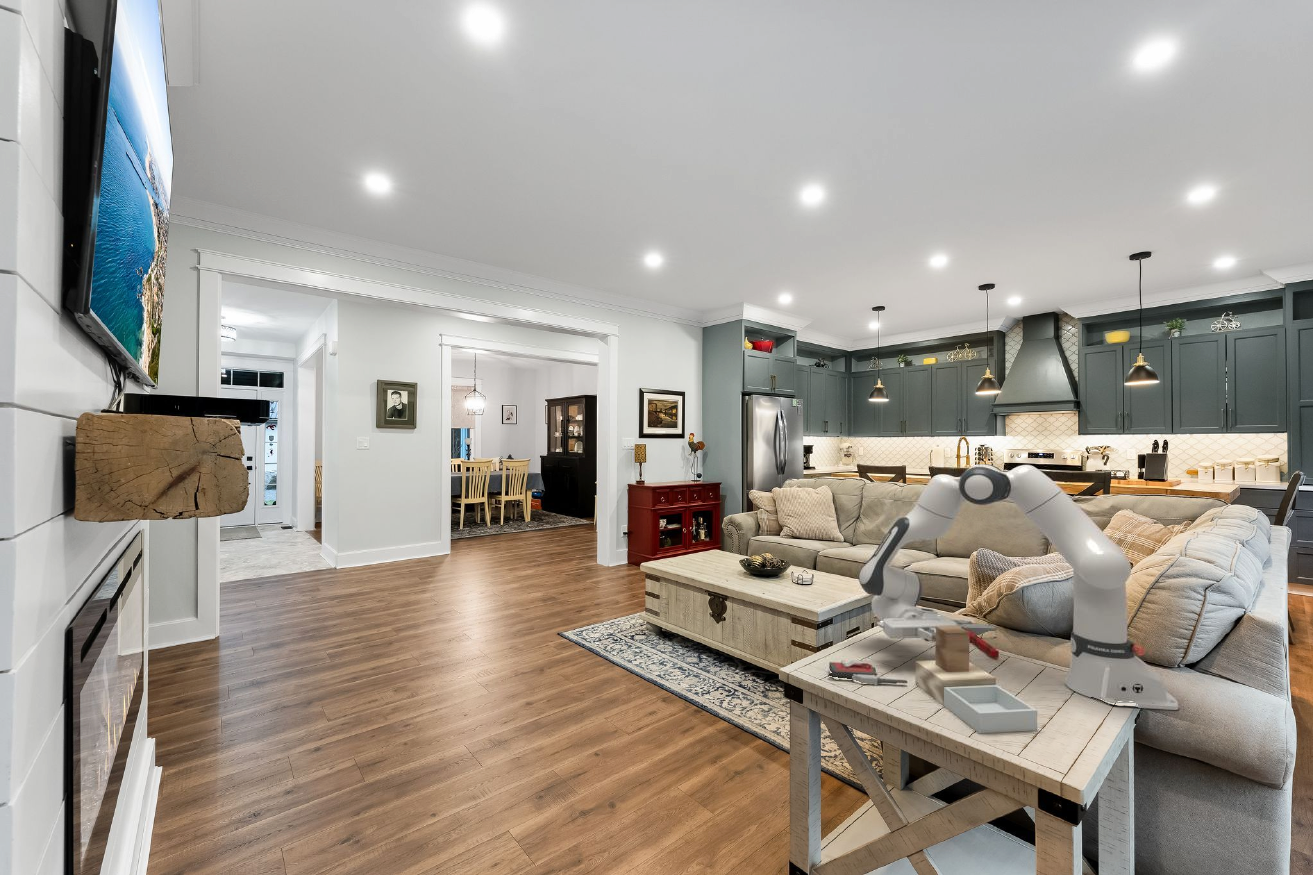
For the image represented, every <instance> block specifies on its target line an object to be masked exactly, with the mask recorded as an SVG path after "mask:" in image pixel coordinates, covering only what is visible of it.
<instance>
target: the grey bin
mask: <svg viewBox="0 0 1313 875" xmlns="http://www.w3.org/2000/svg"><path fill="white" fill-rule="evenodd" d="M943 706H944V707H945V708H946V709H948V710H949V711H950V712H951V713H952V714H954V715H955V716H956V717H957V718H959V719H960V720H961V721H962V722H964V723H965V724H966V725H968V726H969V727H970V728H971V729H973V730H974V731H976V732H977V734H994V733H1013V732H1015V733H1016V732H1030V731H1038V709H1036V708H1034V707H1033V706H1031V705H1029V704H1028V703H1026V702H1025V701H1023V699H1020V698H1019V697H1017V696H1016V695H1014V694H1013V693H1010V692H1009V691H1007V690H1006V689H1004V688H1003V687H1001V686H999V684H996V685H983V686H961V687H944V705H943Z"/></svg>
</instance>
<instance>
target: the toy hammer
mask: <svg viewBox="0 0 1313 875" xmlns="http://www.w3.org/2000/svg"><path fill="white" fill-rule="evenodd" d="M949 619H950V620H952V621H954V622H955V623H956V624H957V626H959V627H961V628H962V629H964V630H966V631H968V632H970V643H972V644H973V645H975V646H976V647H978V648H979V649H980V650H982V652H984V653H985V654H987V655H988V656H990V657H991V658H994V659H995V658H996V659H997V658H998V659H999V658H1000V652H999V650H997V649H996V648H995V647H993V646H992V645H990V644H989V643H988V642H986V641H985V640H984V639H983V638H979V637H978V636H977V635H980V634H982V633H985V632H988V631H996V632H997V627H995V626H993V625H992V626H990V625H991V624H990V625H984V624H979V623H972V622H971V621H965V620H966V619H951V618H949Z"/></svg>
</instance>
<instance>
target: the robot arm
mask: <svg viewBox="0 0 1313 875" xmlns="http://www.w3.org/2000/svg"><path fill="white" fill-rule="evenodd" d="M1004 500H1009V501H1011V502H1012V503H1014V504H1015V505H1016V506H1017V507H1018V509H1020V510H1021V511H1022V513H1023V514H1024V515H1025V516H1026V517H1027V518H1028V519H1029V521H1030V522H1031V523H1033V525H1035V527H1036V528H1037V529H1038V530H1039V531H1040V532H1041V533H1042V534H1043V536H1044V537H1045V538H1046V539H1048V541H1049V542H1050V543H1051V544H1052V547H1054V548H1055V549H1056V551H1058V553H1059V554H1060V556H1062V557H1063V559H1064V561H1066V562H1067V563H1068V565H1070V567H1071V568H1072V571H1073V575H1072V576H1073V577H1072V578H1073V579H1072V580H1073V583H1072V584H1073V626H1072V627H1073V628H1072V631H1071V632H1070V633H1071V634H1070V636H1071V637H1070V652H1071V658H1070V666H1069V669H1068V673H1067V676H1066V678H1065V680H1064V683H1065V685H1066V686H1067V688H1069V689H1071V690H1072V691H1075V693H1078V694H1080V695H1083V696H1086V697H1088V698H1091V697H1095V698H1097V699H1102V700H1104V701H1107V702H1110V703H1136V704H1138V708H1139V709H1150V710H1151V709H1152V710H1153V709H1154V710H1170V711H1177V710H1179V708H1180V706H1179V702H1178V701H1177V699H1176V698H1175V697H1174V696H1173V695H1172V694H1171V693H1169V692H1168V691H1167V689H1166V685H1165V682H1164V680H1163V678H1162V676H1161V675H1160V674H1159V673H1158V672H1157V671H1156V670H1154V669H1153V667H1151V666H1150V665H1148V663H1146V662H1144V661H1143V660H1142V659H1140V657H1138V656H1144V654H1145V653H1146V651H1145V649H1144V648H1143V647H1142V646H1140V645H1139V644H1135V643H1134V642H1132V641H1131V640H1129V639H1128V604H1127V587H1126V585H1127V584H1126V582H1128V579H1129V578H1130V576H1131V574H1132V573H1131V572H1132V566H1131V563H1130V560H1129V558H1128V557H1127V555H1126V554H1125V553H1124V551H1123V550H1122V548H1121V547H1120V546H1119V544H1116V542H1114V541H1112V540H1111V539H1110V538H1109V537H1108V536H1107V535H1106V534H1105V532H1103V531H1102V529H1101V528H1100V527H1098V525H1097V524H1096V523H1095V522H1094V521H1093V520H1092V518H1090V516H1088V515H1087V514H1086V513H1085V511H1084V510H1082V508H1080V506H1079V505H1078V504H1077V503H1076V502H1075V501H1074V500H1073V499H1072V498H1071V497H1070V496H1069V495H1068V494H1067V493H1066V492H1065V491H1064V490H1063V488H1061V487H1060V486H1059V485H1058V484H1057V483H1056V482H1055V481H1054V480H1052V479H1051V478H1050V477H1049V476H1047V475H1046V474H1045V473H1044V472H1042V471H1041V470H1040V469H1038V468H1037V467H1035V466H1033V465H1031V464H1022V465H1018V466H1016V467H1014V468H1012V469H1011V470H1008V471H1002V470H1001V469H1000V468H999V467H997V466H995V465H993V464H987V463H981V464H975V465H973V466H971V467H969V468H967V469H966V470H965V471H963V473H962V474H961V475H959V477H956V476H952V475H950V474H946V473H945V474H941V473H940V474H937V475H934V476H933V477H931V479H930V480H929V481H928V482H927V485H925V487H924V489H923V490H922V492H921V494H920V496H919V498H918V499H917V500H916V501H917V502H916V504H915V506H914V507H913V508H912V510H911V511H910V512H909V513H908V514H906V515H905V516H903V517H901V518H898V519H897V520H896V521H895V522H894V523H893V525H892V526H891V527H890V528H889V530H888V532H887V533H886V534H885V536H884V537H883V539H882V540H881V542H880V543H879V545H878V547H877V548H876V550H875V551H874V552H873V554H872V555H871V557H870V558H869V559H868V560H867V561H866V562H865V563H864V564H863V566H862V567H861V569H860V571H859V574H858V582H859V584H860V586H861V588H862V589H863V591H864V592H865V593H866V594H868V595H872V596H874V597H873V598H872V600H871V605H870V606H871V610H872V612H873V614H874V616H875V617H876V618H877V619H878V620H879V621H877V623H876V624H877V626H878V627H879V628H882V631H883V633H884V634H885V635H886V636H888V637H889V638H891V639H895V640H896V639H897V640H898V639H899V640H901V639H902V640H903V639H923V640H924V639H925V640H928V641H929V642H934V641H935V642H936V626H957V624H956V623H955V622H954V621H952V620H953V619H951V618H948V617H947V616H945V615H942V614H939V613H938V611H937V610H935V609H930V608H924V607H923V608H922V607H919V606H917V605H918V604H919V602H920V600H921V597H922V595H923V586H922V582H921V580H920V578H919V576H918V575H917V574H916V573H915V572H913V571H910V570H907V569H903V568H899V567H895V566H891V563H892V561H893V560H894V559H895V557H896V556H897V554H898V552H899V551H900V550H901V549H902V547H903V546H905V545H906V544H909V543H911V542H912V543H913V542H915V541H917V542H918V541H925V540H935V539H938V538H941V537H943V536H945V535H946V534H947V533H948V532H949V531H950V530H951V527H952V525H953V524H954V521H955V520H956V517H957V515H958V513H959V511H960V509H961V507H962V506H963V505H964V504H965V503H967V502H969V503H971V504H973V505H977V506H985V505H986V506H987V505H991V504H994V503H996V502H1000V501H1004ZM950 619H951V620H950ZM1097 699H1096V700H1097ZM1117 701H1122V702H1117ZM1129 701H1133V702H1129Z"/></svg>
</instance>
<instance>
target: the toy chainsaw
mask: <svg viewBox="0 0 1313 875" xmlns="http://www.w3.org/2000/svg"><path fill="white" fill-rule="evenodd" d="M828 669H830V671H831V672H832V673H830V672H829V673H828V677H829V676H832V677H838V678H847V679H852V680H856V681H859V682H861V683H867V684H874V685H877V686H878V684H891V685H892V684H893V685H894V684H908V683H909V682H908V681H907V680H906V679H896V678H895V679H892V678H882V677H877V676H878V675H879V674H878V672H877V670H876V667H874V666H873V665H872V664H871V663H869V662H868V660H858V659H852V660H850V661H848V662H846V661H845V660H841V661H840V662H836V661H833V662H832V661H829V667H828ZM874 685H873V686H874Z"/></svg>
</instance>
